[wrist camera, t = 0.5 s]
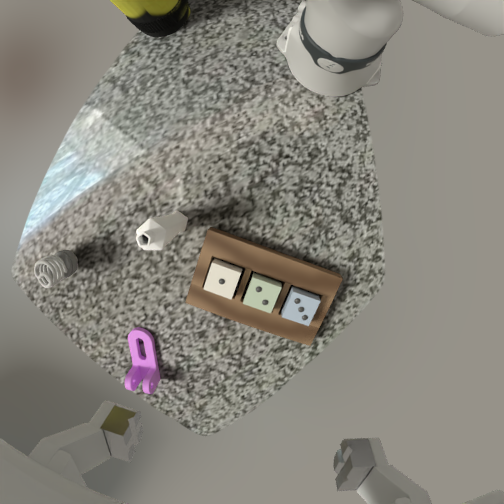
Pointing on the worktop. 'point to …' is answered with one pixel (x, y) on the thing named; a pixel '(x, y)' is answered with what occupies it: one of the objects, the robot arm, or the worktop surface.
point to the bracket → (142, 362)
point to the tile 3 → (300, 306)
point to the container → (155, 15)
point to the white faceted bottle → (160, 231)
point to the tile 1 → (222, 278)
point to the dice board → (269, 265)
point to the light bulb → (55, 268)
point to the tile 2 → (262, 293)
